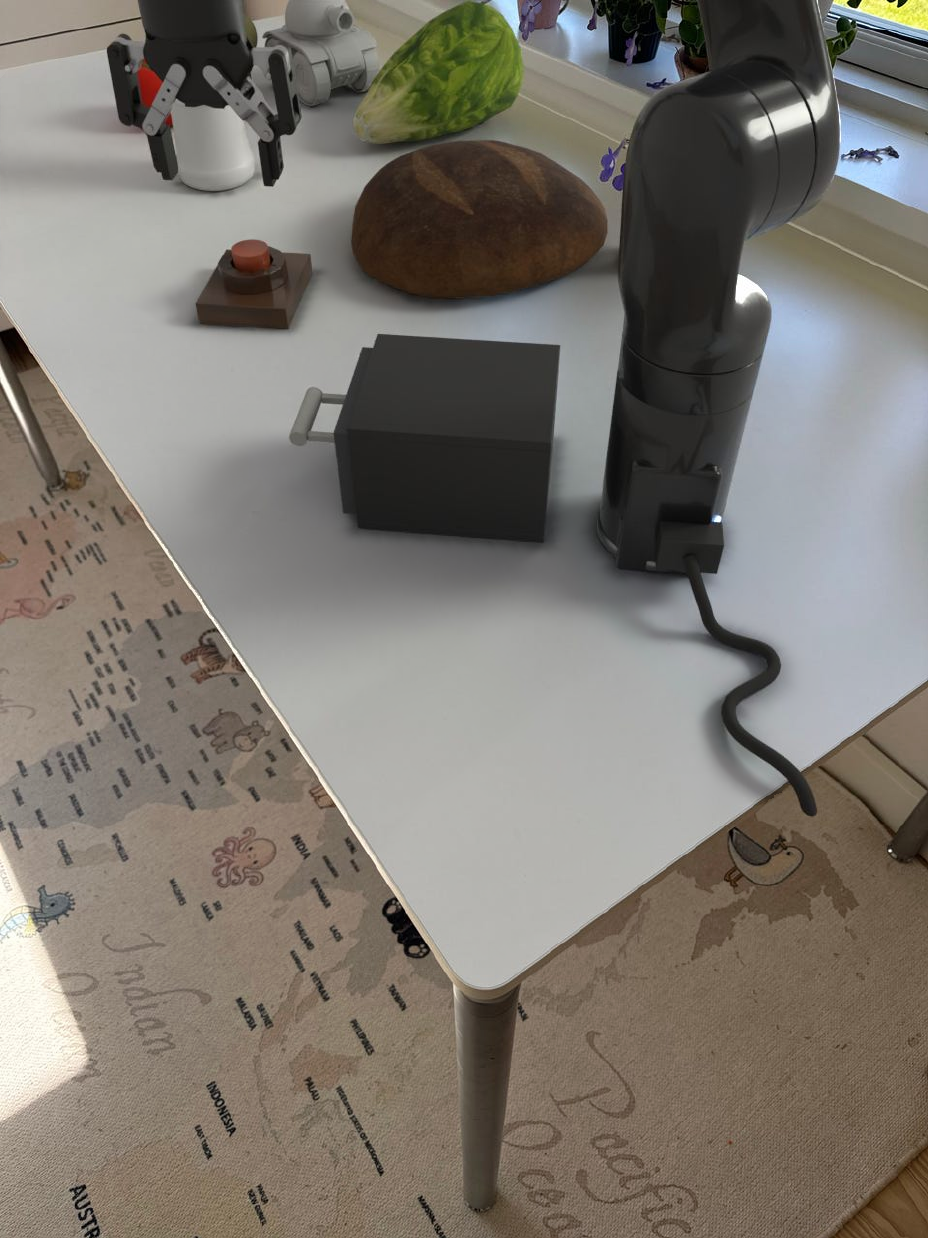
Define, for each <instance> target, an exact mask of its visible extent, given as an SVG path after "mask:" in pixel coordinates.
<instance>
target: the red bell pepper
mask: <svg viewBox="0 0 928 1238" xmlns="http://www.w3.org/2000/svg"><path fill="white" fill-rule="evenodd" d="M137 73H138V79H139V85H140V91H141V97H142V103H143V105H145V106H147V107H150V108H151V105H152V103H153V101H154V99H155V97H156V95H157V93H158V91H159V89H160V87H161V85H162V83H163V82H162V81H161V80H160V79H159V77H158V76H157V75H156V74H155V73H154V72H153V70H152V69H151V68H150V67H149V66H148V64H147V63H146V61H145V59H142V66H141V67H140V69H139V70H138V71H137ZM165 124H166V125H170V127H173V122H172V116H171V112H170V113H169V115H168V117H167V119H166V121H165Z"/></svg>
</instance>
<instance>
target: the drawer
mask: <svg viewBox="0 0 928 1238" xmlns="http://www.w3.org/2000/svg"><path fill="white" fill-rule="evenodd" d="M372 350H373V347H369V346H368V347H367V346H362V347H361V350H360V353H359V356H358V359H357V361H356V365H355V367H354V371H353V374H352V376H351V380H350V383H349V385H348V388H347V391H346V394H341V393H326V392H323V391H322V390H321V389H320V388H319V387H316V386H311V387H308V388H307V390H306V391H305V394H304V396H303V399H302V401H301V404H300V406H299V409H298V412H297V415H296V417H295V419H294V422H293V425H292V427H291V430H290V432H289V435H288V439H289V442H290V443H291V444H292V445H294V446H296V447H304V446H306V444H307V443H308V442H314V443H316V442H317V443H329V444H332V443H333V444H334V449H335V450H334V451H335V458H336V459H335V460H336V465H337V466H336V467H337V473H338V483H339V491H340V499H341V507H342V513H343V514H347V515H356V509H355V499H354V490H353V481H352V472H351V463H350V454H349V444H348V436H347V426H348V423H349V420H350V417H351V414H352V411H353V408H354V405H355V402H356V399H357V396H358V393H359V389H360V386H361V383H362V380H363V377H364V374H365V371H366V368H367V365H368V362H369V359H370V356H371V353H372ZM322 404H327V405H341V409H340V411H339V415H338V417H337V421H336V424H335V426H334V429H333V432H332V431H331V432H330V431H316V430H312V429H313V427H314V424H315V421H316V418H317V415H318V413H319V411H320V407H321V405H322Z"/></svg>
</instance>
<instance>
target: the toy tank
mask: <svg viewBox="0 0 928 1238" xmlns="http://www.w3.org/2000/svg"><path fill="white" fill-rule="evenodd" d="M347 3H348V2H347V1H346V0H288V1H287V4H286V7H285V13H284V25H282V26H281V27H279V28H274V29H270V30H266V31H265V32H263V34H262V36H261V38H262V39H263V40H264V39H265V42H264V47H275V46H276V45H277V44H278V43H279V42H285V43H287V44H288V45H289V47H290V49H291V54H292V60H293V66H294V72H295V78H296V84H297V90H298V97H299V102H301V103H303V104H304V105H306V106H308V107H311V106H312V107H313V106H317V105H320V104H323V103H325V102H327V101H328V100H329V99H330V95H331V90H332V89H335V88H339V87H343V86H345V87H346V88H348V89H350V90H352V91H354V92H356V93H362V92H366V91H367V92H368V91H369V88H370V86H371V84H372V82H373V80H374V79H375V77H376V76H377V74H378V73H379V71H380V70H381V68H380V67H381V66H380V61H379V56H378V52H377V49H376V48H378V47H379V45H378V43H377V41H376V39H375V38H374V35H372V34H371V33H370V32H369V31H368V30H367V29H365V28H362V27H360V26H358V25H357V24H355V20H356V19H355V15H354V13H353V12H352V11H351V10H350V8H349V4H347Z"/></svg>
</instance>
